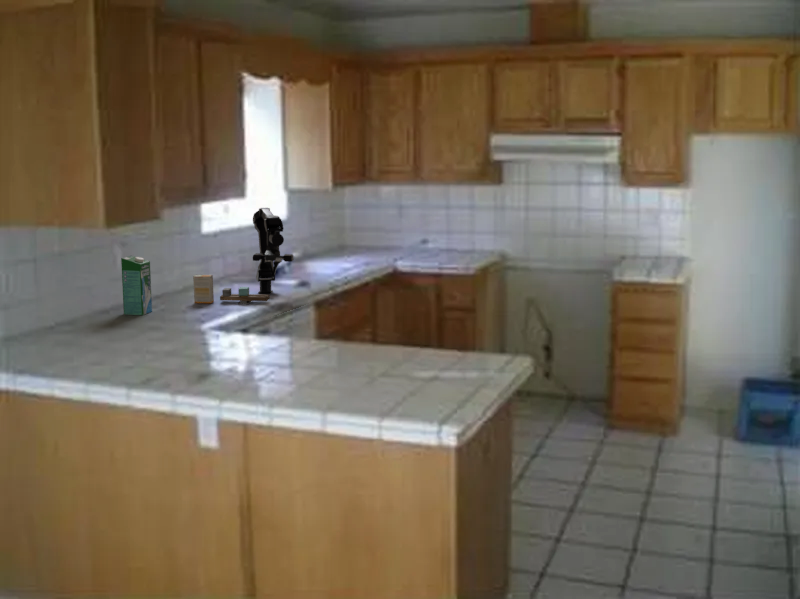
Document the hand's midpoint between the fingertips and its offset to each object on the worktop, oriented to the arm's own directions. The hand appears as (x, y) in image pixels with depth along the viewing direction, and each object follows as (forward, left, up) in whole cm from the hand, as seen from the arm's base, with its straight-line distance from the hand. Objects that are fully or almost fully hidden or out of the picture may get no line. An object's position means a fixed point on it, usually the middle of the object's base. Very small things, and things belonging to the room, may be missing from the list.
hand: (273, 275), depth 439 cm
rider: (+9, -12, -10) cm, 18 cm away
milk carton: (+37, -54, -12) cm, 67 cm away
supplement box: (+11, -31, -12) cm, 35 cm away
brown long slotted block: (+9, -12, -12) cm, 19 cm away
